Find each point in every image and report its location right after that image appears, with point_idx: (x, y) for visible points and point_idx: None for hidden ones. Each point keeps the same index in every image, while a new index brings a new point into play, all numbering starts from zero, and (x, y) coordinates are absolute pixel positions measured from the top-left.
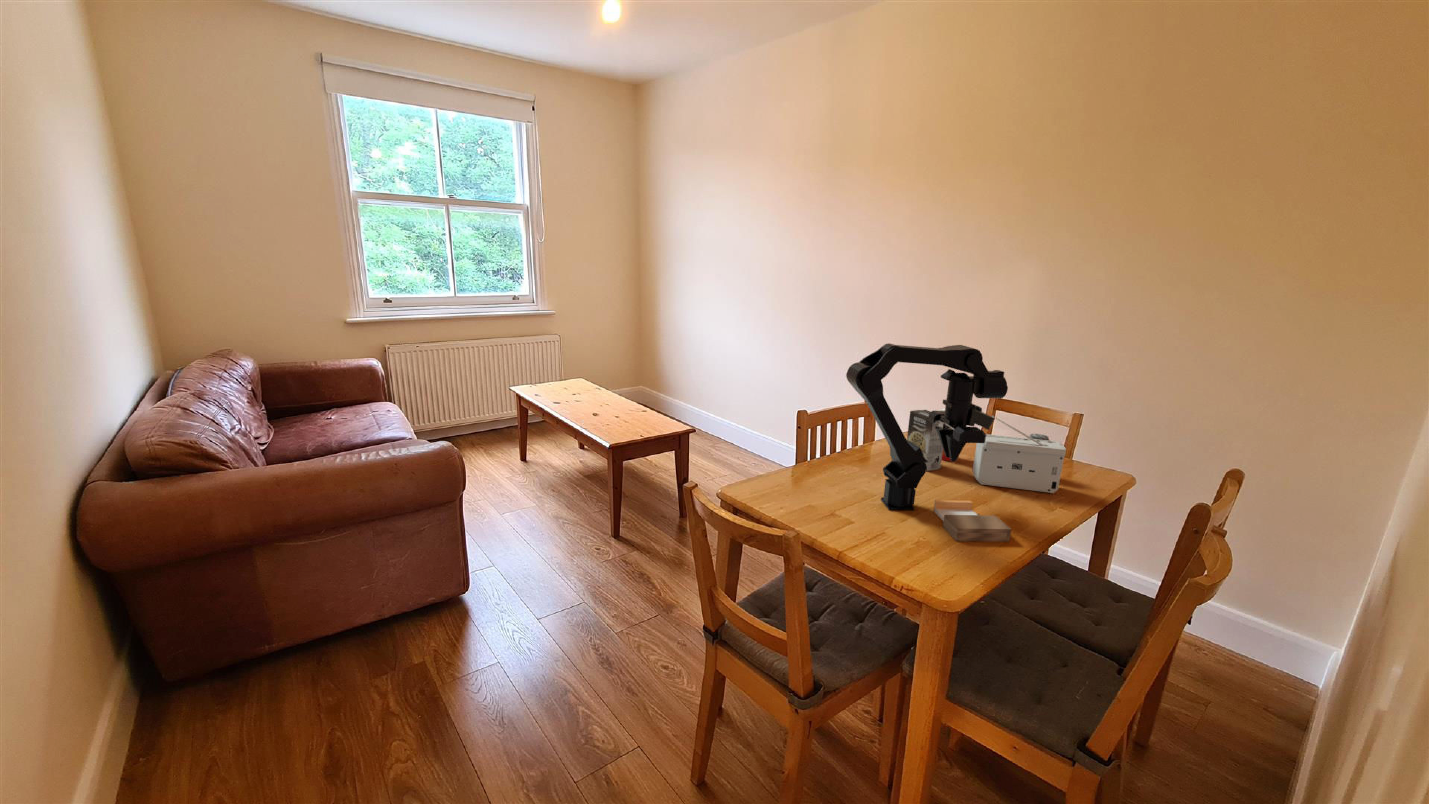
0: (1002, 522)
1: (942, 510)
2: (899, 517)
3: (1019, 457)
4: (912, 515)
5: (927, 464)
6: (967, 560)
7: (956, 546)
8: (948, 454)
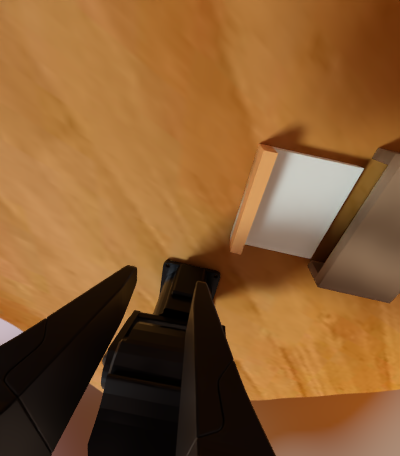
0: None
1: (252, 233)
2: (240, 307)
3: None
4: (239, 285)
5: None
6: None
7: None
8: (129, 290)
